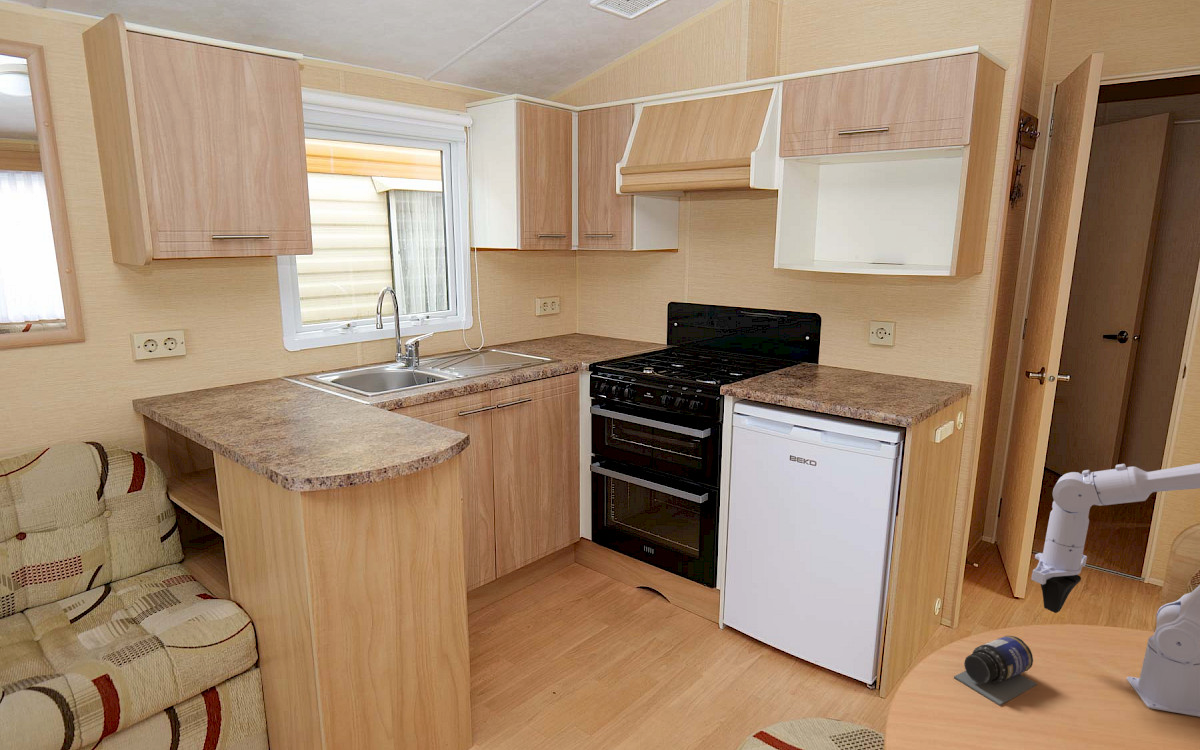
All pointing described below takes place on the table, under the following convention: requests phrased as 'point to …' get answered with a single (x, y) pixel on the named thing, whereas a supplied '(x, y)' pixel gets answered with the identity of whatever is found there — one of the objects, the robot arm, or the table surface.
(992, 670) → the pill bottle
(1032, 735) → the table surface
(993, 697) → the rubber mat
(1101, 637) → the table surface
